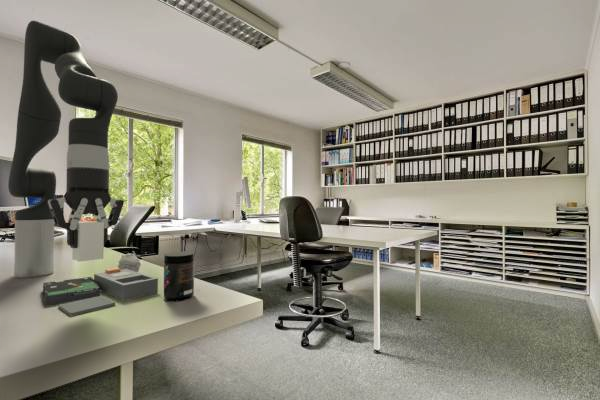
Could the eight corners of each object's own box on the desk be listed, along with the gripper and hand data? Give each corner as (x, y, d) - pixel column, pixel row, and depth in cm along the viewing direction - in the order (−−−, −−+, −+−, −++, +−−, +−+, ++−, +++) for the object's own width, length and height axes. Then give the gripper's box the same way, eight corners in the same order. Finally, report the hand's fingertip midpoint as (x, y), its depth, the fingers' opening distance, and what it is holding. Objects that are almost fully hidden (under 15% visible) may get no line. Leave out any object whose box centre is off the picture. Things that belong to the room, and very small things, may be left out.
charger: (71, 259, 64) (72, 222, 64) (95, 256, 68) (96, 221, 68) (78, 261, 61) (79, 222, 62) (103, 258, 65) (103, 222, 65)
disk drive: (41, 294, 76) (45, 308, 65) (42, 282, 76) (45, 295, 65) (91, 286, 83) (101, 298, 72) (91, 276, 83) (101, 286, 72)
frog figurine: (136, 273, 95) (136, 251, 96) (144, 276, 91) (144, 254, 91) (114, 276, 91) (115, 253, 91) (121, 280, 86) (121, 256, 86)
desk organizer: (85, 283, 83) (85, 268, 83) (117, 277, 89) (117, 263, 89) (123, 300, 68) (123, 281, 68) (157, 292, 75) (157, 275, 75)
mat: (58, 307, 64) (58, 304, 64) (100, 298, 70) (100, 295, 70) (70, 316, 59) (70, 313, 59) (115, 305, 65) (115, 302, 65)
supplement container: (178, 292, 75) (178, 250, 75) (200, 295, 73) (200, 252, 73) (156, 300, 69) (157, 255, 69) (179, 303, 66) (179, 257, 66)
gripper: (117, 171, 73) (116, 241, 73) (41, 165, 61) (40, 248, 61) (131, 169, 68) (130, 244, 68) (52, 162, 57) (51, 252, 57)
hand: (87, 246), depth 65 cm, fingers closed on charger, 4 cm apart
